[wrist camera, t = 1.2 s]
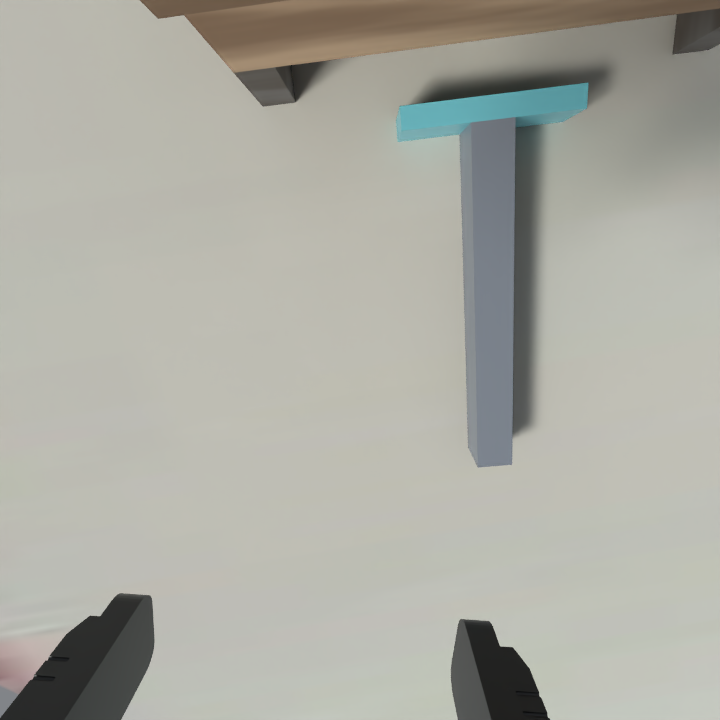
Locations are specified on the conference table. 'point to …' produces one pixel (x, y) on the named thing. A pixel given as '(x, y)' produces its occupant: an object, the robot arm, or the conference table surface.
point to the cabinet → (400, 28)
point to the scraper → (489, 239)
